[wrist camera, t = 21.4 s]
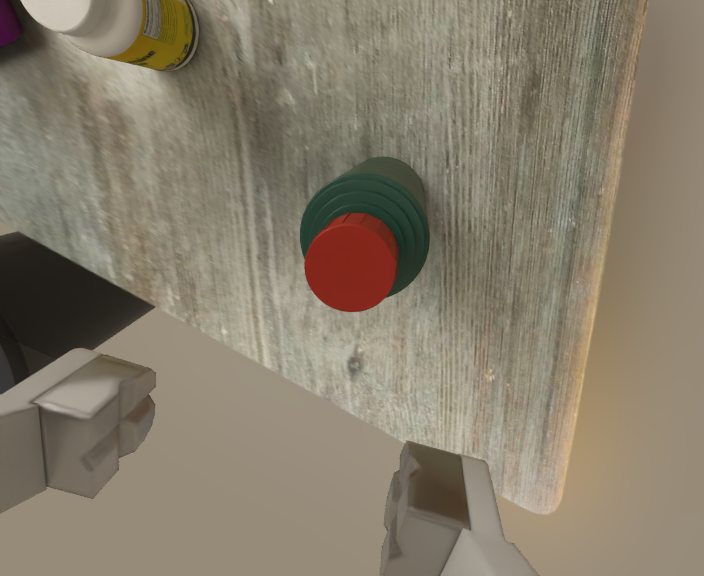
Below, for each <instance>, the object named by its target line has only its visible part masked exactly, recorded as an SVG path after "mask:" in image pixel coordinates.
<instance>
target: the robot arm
mask: <svg viewBox="0 0 704 576" xmlns="http://www.w3.org/2000/svg"><path fill="white" fill-rule="evenodd" d="M155 387H156V372H154V371H153V370H152V369H151V368H148V367H144V366H141V365H138V364H134V363H132V362H128V361H125V360H122V359H118V358H115V357H112V356H108V355H103V354H101V353H97V352H94V351H91V350H88V349H84V348H78V349H73V350H71V351H70V352H68V353H66V354H65V355H63V356H62V357H60V358H59V359H57V360H55V361H54V362H52V363H51V364H49V365H47V366H46V367H44V368H43V369H41V370H40V371H38V372H36V373H35V374H33V375H32V376H30V377H28V378H27V379H25V380H24V381H22V382H20V383H19V384H17V385H16V386H14V387H13V388H11V389H9V390H8V391H6V392H5V393H3V394H0V513H2V512H4V511H6V510H8V509H10V508H12V507H14V506H16V505H18V504H19V503H21V502H23V501H25V500H27V499H29V498H31V497H33V496H35V495H36V494H39V493H41V492H43V491H44V490H46V487H50V488H54V489H58V490H62V491H65V492H69V493H73V494H76V495H80V496H84V497H88V498H91V499H93V498H94V497H95V496H96V495H97V494H98V493H99V491H100V490H101V489H102V488H103V487H104V486H105V484H106V483H107V482H108V481H109V480H110V479H111V478H112V477H113V476H114V474H115V473H116V472H117V471H118V470H119V458H120V457H123V456H125V455H128V454H130V453H132V452H135V450H136V449H137V448H138V447H139V446H140V445H141V443H142V442H143V441H144V439H145V437H146V436H147V434H148V432H149V430H150V428H151V426H152V423H153V419H154V415H155V403H154V402H153V400H152V399H151V397H150V395H149V393H150V392H151V391H152V390H153V389H154V388H155ZM384 526H385V528H386V529H387V531H388V532H387V535H386V537H385V540H384V543H383V546H382V553H381V567H380V576H539V575H538V574H537V572H536V571H535V570H534V568H533V567H532V566H531V565H530V563H529V562H528V561H527V559H526V558H525V557H524V556H523V555H522V553H521V552H520V551H519V549H518V548H517V547H516V546H515V544H514V543H511V542H507V541H505V538H504V534H503V530H502V525H501V520H500V516H499V512H498V507H497V503H496V498H495V494H494V489H493V485H492V481H491V476H490V472H489V467H488V464H487V463H486V462H485V461H484V460H480V459H477V458H473V457H469V456H465V455H461V454H458V455H457V454H455V453H451V452H448V451H444V450H440V449H437V448H433V447H429V446H426V445H422V444H418V443H415V442H411V441H406V443H405V444H404V447H403V449H402V452H401V455H400V468H399V470H398V471H396V472H395V473H394V475H393V478H392V481H391V484H390V488H389V492H388V496H387V501H386V508H385V517H384Z"/></svg>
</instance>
